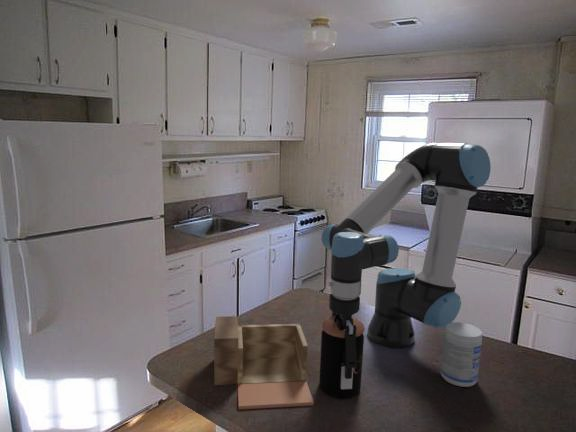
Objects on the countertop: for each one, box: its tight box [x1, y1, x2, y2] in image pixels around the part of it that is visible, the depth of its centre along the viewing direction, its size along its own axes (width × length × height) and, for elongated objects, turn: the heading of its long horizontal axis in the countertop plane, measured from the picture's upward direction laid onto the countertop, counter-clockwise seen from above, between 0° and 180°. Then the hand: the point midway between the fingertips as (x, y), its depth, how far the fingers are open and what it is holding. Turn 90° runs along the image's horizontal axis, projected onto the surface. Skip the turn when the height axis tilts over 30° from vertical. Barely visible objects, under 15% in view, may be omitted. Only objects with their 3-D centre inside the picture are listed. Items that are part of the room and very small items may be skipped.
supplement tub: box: [440, 321, 483, 388], centre depth 117 cm, size 10×10×15 cm
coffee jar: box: [319, 316, 365, 399], centre depth 109 cm, size 11×11×18 cm
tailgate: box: [237, 380, 315, 410], centre depth 106 cm, size 18×1×10 cm
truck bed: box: [213, 315, 309, 386], centre depth 116 cm, size 24×13×14 cm, turn 98°
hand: (340, 375), depth 110 cm, fingers closed on coffee jar, 11 cm apart
